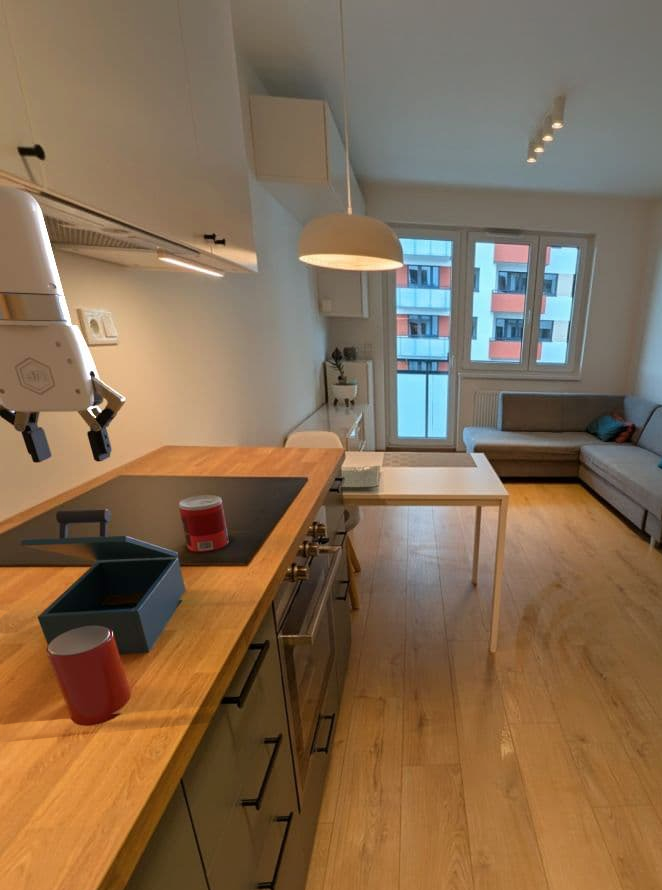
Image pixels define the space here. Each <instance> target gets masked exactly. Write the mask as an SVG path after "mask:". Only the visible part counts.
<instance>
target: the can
mask: <svg viewBox="0 0 662 890" xmlns="http://www.w3.org/2000/svg"><path fill="white" fill-rule="evenodd" d="M45 653H46V655H47V656H46V657H47V658H48V661H49V664H50V667H51V669H52V671H53V674H54V678H55V680H56V682H57V685H58V688H59V690H60V693H61V696H62V698H63V702H64V703H65V706H66V709H67V712H68V714H69V716H70V719H71V721H72V722H73V723H74V724H76V725H79V726H94V725H99V724H103V723H105V722H108V721H111V720H112V719H115V718H117V717H118V716H120V715H121V714H122V712H119V710H120V709H122V708H123V707H125V706H126V705H127V703H128V702H129V701H130V699H131V697H132V691H131V688H130V684H129V680H128V678H127V674H126V671H125V668H124V664H123V661H122V658H121V655H120V654H119V651H118V648H117V645H116V641H115V638H114V635H113V632H112V630H111V629H109V628H107V627H103V626H85V627H80V628H76V629H73V630H70V631H68V632H65V633H63V634H61V635H59V636H58V637H56V638H55V639H54V640H53V641H52V642H51V643H50V644H49V645H48V644H47V646H46V649H45ZM116 712H117V713H116ZM118 712H119V713H118Z"/></svg>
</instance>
